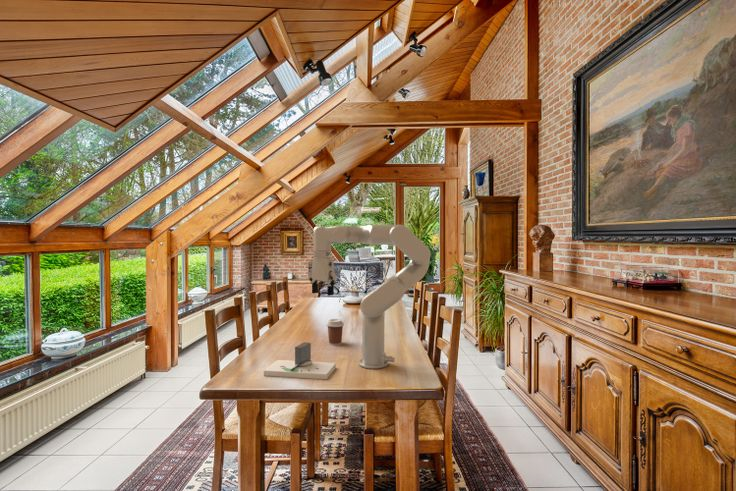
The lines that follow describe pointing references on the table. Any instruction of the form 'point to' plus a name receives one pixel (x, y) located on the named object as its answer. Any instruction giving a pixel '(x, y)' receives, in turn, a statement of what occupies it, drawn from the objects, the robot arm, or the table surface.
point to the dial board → (300, 370)
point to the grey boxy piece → (302, 355)
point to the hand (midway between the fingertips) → (322, 294)
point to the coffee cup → (335, 331)
